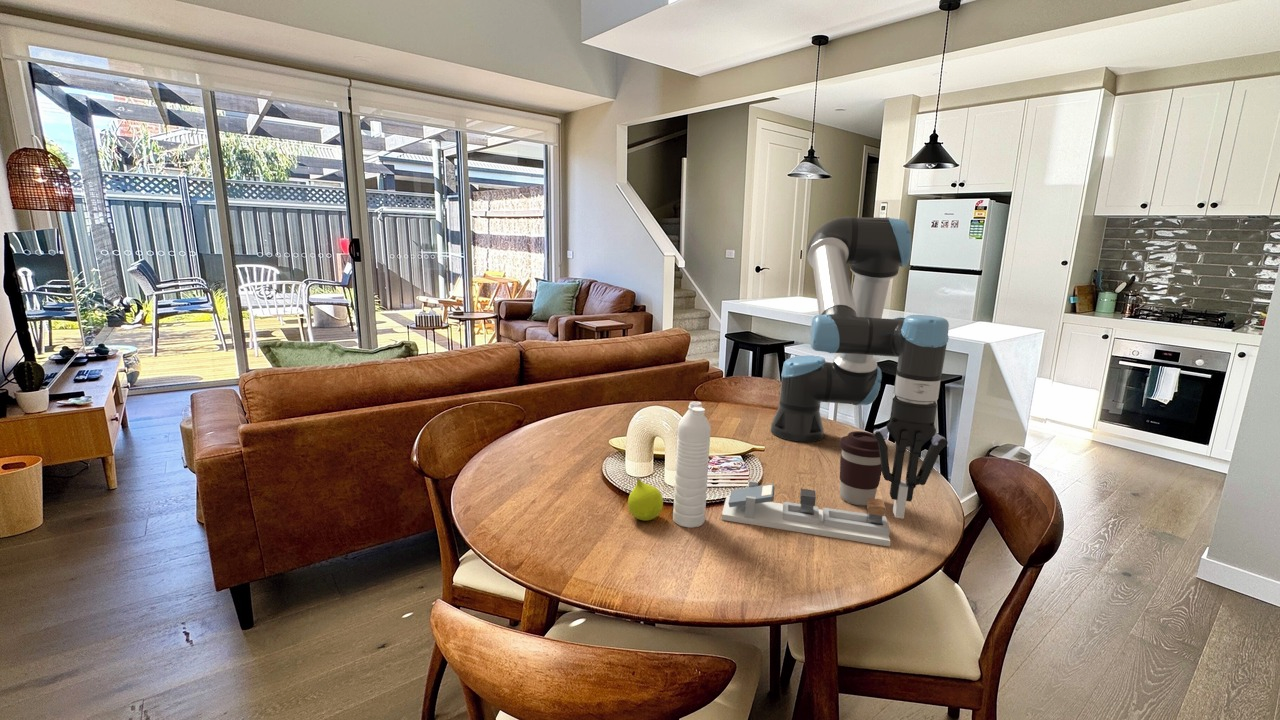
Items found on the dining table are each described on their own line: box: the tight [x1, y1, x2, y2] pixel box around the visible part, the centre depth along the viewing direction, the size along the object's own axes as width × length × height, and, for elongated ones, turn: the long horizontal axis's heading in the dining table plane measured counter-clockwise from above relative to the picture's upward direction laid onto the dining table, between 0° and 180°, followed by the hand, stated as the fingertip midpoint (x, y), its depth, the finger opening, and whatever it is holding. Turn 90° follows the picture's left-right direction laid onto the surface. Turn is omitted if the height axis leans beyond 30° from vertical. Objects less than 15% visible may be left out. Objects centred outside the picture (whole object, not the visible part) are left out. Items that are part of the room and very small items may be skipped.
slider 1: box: [799, 488, 817, 515], centre depth 114 cm, size 3×3×5 cm
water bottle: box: [672, 400, 712, 529], centre depth 110 cm, size 9×6×25 cm
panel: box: [721, 479, 891, 548], centre depth 114 cm, size 9×32×6 cm, turn 75°
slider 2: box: [866, 498, 886, 525], centre depth 111 cm, size 3×3×5 cm
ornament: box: [627, 471, 664, 522], centre depth 113 cm, size 7×7×10 cm
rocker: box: [729, 483, 775, 507], centre depth 117 cm, size 7×9×1 cm
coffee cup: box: [839, 430, 889, 507], centre depth 125 cm, size 10×10×15 cm
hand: (898, 514), depth 110 cm, fingers closed
